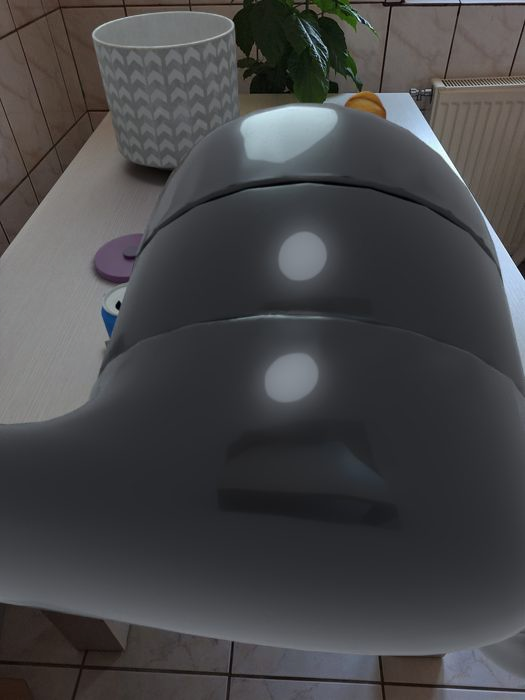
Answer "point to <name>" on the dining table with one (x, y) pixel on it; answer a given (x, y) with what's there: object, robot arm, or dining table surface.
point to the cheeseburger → (367, 103)
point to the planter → (167, 82)
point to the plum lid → (118, 258)
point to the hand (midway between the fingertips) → (201, 362)
